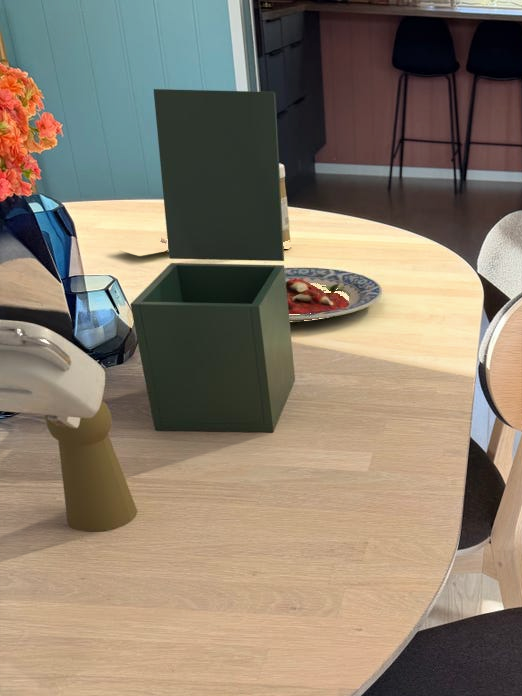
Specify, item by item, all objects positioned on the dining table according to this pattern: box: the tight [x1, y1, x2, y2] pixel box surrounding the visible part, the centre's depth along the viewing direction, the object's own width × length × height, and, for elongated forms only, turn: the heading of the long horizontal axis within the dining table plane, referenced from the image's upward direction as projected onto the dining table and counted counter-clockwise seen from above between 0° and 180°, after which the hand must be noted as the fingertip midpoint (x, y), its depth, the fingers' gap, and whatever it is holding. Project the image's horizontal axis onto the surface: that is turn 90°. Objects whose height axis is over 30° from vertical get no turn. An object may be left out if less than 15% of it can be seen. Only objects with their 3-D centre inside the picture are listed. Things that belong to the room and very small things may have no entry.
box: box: [129, 262, 296, 433], centre depth 103 cm, size 16×13×13 cm
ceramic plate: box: [284, 267, 383, 321], centre depth 137 cm, size 26×26×3 cm
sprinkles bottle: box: [279, 162, 291, 242], centre depth 161 cm, size 5×5×13 cm
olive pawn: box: [45, 400, 138, 532], centre depth 82 cm, size 6×6×11 cm
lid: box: [153, 88, 285, 262], centre depth 102 cm, size 17×13×1 cm
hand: (13, 413), depth 70 cm, fingers open, 8 cm apart
